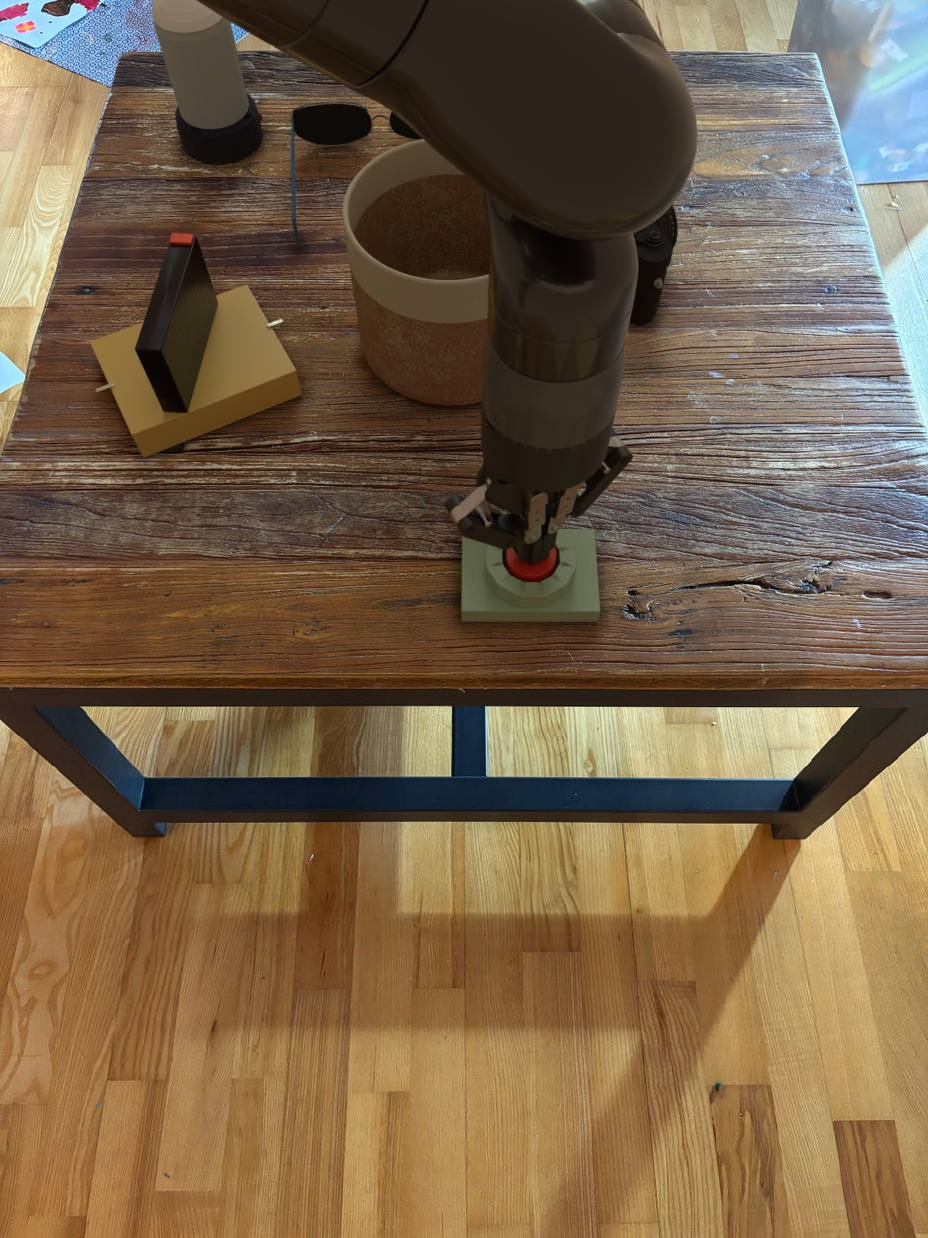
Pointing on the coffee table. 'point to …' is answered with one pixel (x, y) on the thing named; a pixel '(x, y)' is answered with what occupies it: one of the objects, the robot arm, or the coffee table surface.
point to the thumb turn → (177, 323)
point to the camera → (653, 264)
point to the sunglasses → (335, 131)
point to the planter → (420, 273)
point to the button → (530, 567)
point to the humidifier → (206, 82)
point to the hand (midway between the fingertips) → (531, 552)
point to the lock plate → (203, 376)
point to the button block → (532, 584)
